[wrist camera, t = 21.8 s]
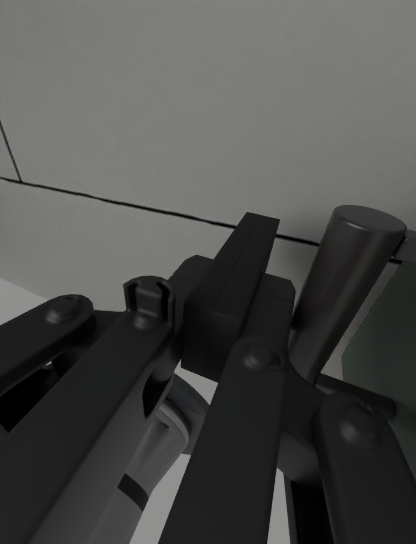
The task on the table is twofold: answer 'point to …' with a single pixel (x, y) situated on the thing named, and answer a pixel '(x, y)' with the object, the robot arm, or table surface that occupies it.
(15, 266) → the table surface
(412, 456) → the drawer
